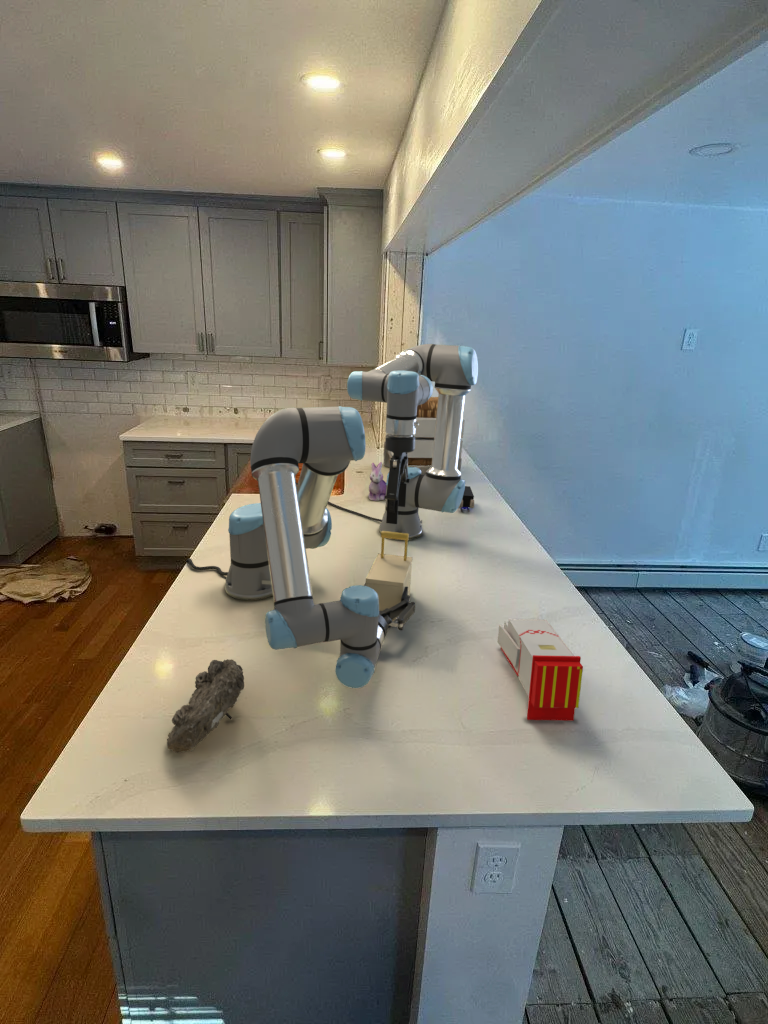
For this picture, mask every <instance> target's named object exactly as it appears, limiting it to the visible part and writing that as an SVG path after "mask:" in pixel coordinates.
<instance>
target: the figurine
mask: <svg viewBox="0 0 768 1024" xmlns="http://www.w3.org/2000/svg"><path fill="white" fill-rule="evenodd" d="M382 468H383V462H382V461H379V463H378V464H377V465H376V464H375V462H371V472H370V473H369V480H370V483H369V485H368V491H369V493H368V497H367V498H369V500H371V501H376V502H377V501H378V502H379V501H383V500H385V499H384V496H386V482H387V481H386V480H384V475H383V472H382Z"/></svg>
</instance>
